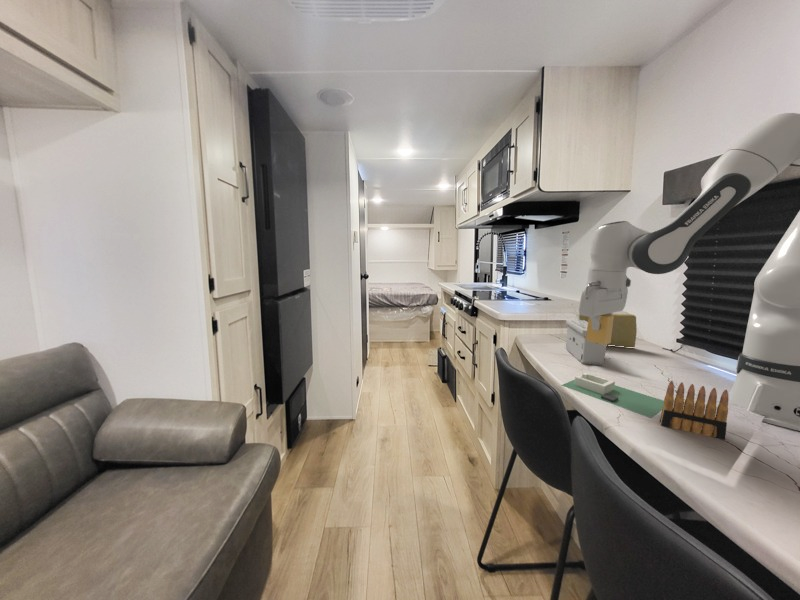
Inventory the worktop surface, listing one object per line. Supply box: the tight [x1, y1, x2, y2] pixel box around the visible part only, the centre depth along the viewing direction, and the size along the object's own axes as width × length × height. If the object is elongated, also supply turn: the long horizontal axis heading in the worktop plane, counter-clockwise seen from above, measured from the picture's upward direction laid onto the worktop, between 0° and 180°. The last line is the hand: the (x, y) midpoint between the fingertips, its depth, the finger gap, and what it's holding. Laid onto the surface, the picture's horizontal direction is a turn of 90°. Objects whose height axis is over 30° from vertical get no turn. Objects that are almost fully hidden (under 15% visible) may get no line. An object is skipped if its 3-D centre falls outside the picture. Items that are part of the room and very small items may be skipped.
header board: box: [561, 372, 664, 419], centre depth 87 cm, size 22×14×4 cm, turn 33°
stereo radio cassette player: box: [565, 303, 607, 366], centre depth 121 cm, size 21×8×20 cm, turn 168°
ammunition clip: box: [659, 380, 729, 441], centre depth 68 cm, size 11×2×12 cm, turn 59°
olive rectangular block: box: [578, 312, 638, 348], centre depth 138 cm, size 22×10×15 cm, turn 60°
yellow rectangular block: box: [586, 314, 614, 345], centre depth 89 cm, size 6×4×8 cm, turn 33°
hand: (600, 328), depth 88 cm, fingers closed on yellow rectangular block, 3 cm apart
